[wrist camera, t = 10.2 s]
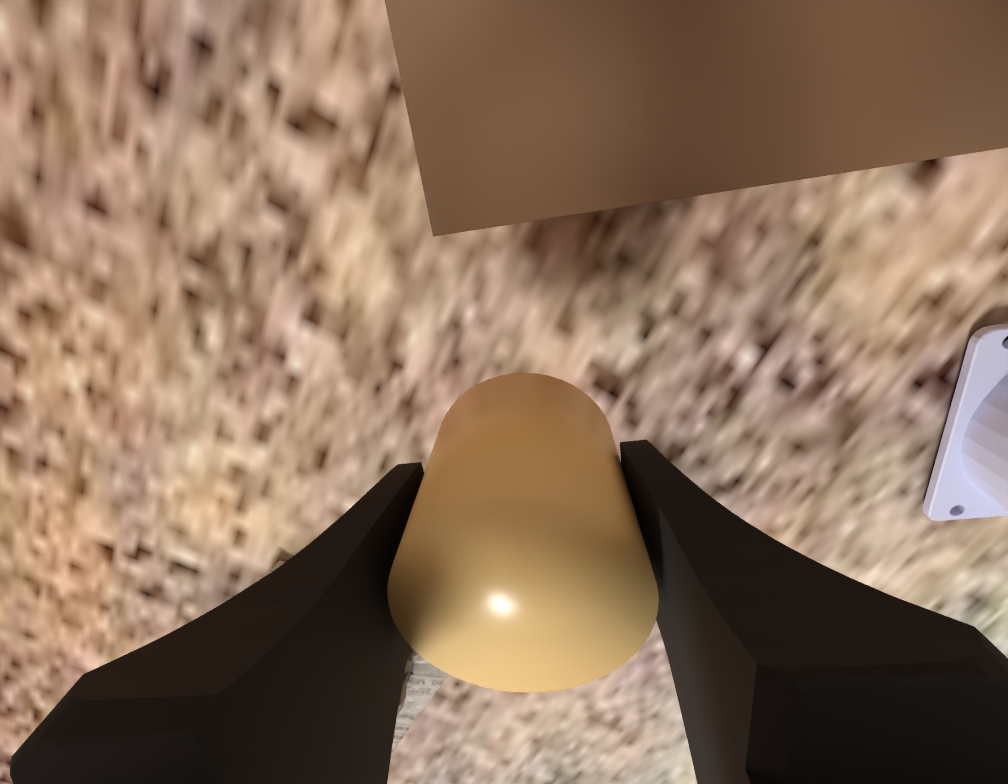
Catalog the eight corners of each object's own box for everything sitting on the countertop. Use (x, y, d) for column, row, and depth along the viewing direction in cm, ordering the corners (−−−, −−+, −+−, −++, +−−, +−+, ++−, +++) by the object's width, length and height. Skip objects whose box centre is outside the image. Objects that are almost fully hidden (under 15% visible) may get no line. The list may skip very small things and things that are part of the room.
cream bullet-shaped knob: (608, 361, 12) (656, 486, 7) (618, 515, 14) (660, 686, 9) (419, 384, 12) (354, 513, 8) (456, 528, 14) (421, 697, 10)
